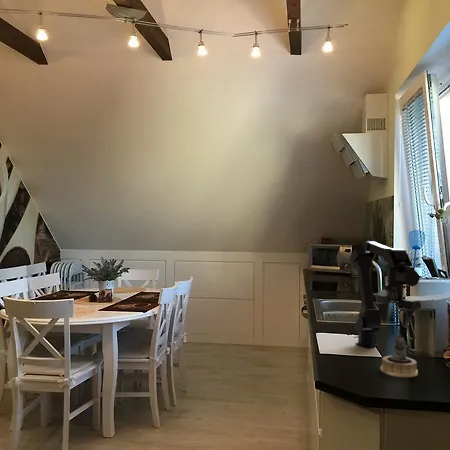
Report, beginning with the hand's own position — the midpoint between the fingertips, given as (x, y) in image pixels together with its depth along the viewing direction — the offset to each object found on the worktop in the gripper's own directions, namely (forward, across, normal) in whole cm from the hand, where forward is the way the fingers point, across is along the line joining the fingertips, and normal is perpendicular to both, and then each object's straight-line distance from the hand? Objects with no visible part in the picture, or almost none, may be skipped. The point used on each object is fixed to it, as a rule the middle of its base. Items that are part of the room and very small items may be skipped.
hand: (394, 324), depth 187 cm
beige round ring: (+13, +11, -11) cm, 20 cm away
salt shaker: (+12, +11, -11) cm, 20 cm away
